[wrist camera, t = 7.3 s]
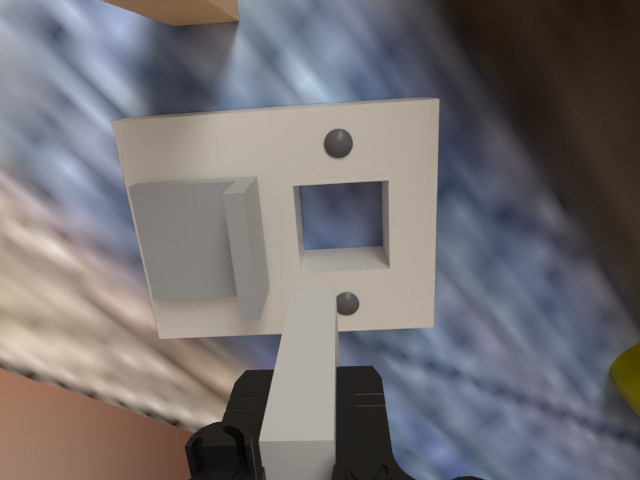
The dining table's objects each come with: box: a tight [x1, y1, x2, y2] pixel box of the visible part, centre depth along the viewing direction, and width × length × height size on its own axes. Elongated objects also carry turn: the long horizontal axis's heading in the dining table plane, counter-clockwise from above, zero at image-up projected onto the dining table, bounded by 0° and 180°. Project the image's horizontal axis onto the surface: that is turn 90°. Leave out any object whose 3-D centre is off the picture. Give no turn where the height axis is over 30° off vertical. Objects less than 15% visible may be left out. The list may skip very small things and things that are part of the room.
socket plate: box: [111, 97, 439, 339], centre depth 28 cm, size 18×14×4 cm
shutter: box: [129, 176, 270, 322], centre depth 24 cm, size 7×7×4 cm
